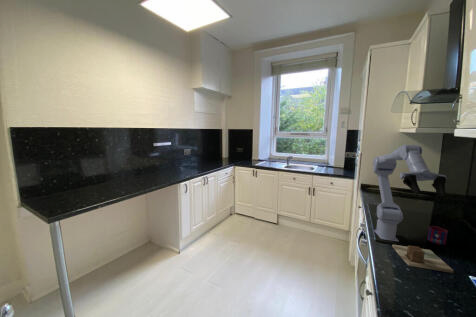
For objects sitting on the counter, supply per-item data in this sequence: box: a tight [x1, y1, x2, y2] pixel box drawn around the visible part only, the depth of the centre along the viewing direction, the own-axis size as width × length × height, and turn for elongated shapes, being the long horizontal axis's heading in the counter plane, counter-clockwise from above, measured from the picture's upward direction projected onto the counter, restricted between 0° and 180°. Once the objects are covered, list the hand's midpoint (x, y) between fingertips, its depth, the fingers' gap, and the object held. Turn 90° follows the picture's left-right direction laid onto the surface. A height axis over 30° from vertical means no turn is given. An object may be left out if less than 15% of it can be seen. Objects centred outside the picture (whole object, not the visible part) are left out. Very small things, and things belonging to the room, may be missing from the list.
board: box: [391, 244, 454, 274], centre depth 86 cm, size 14×15×2 cm
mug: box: [426, 225, 449, 246], centre depth 101 cm, size 7×10×7 cm
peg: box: [406, 245, 425, 263], centre depth 84 cm, size 4×4×6 cm
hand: (430, 194), depth 73 cm, fingers open, 7 cm apart
